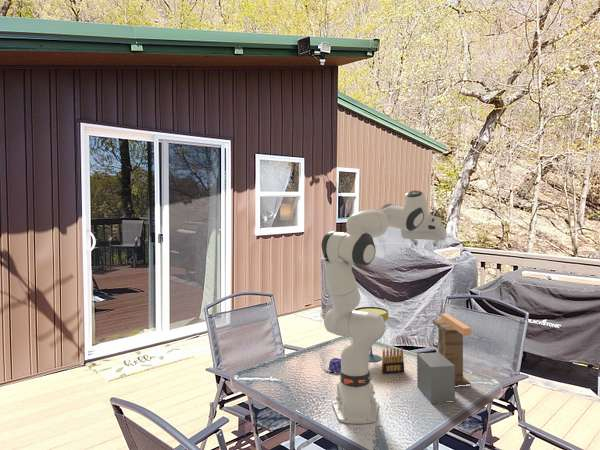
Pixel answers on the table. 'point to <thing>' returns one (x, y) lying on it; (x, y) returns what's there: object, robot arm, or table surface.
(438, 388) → the grey concrete block
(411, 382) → the table surface
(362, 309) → the cocktail glass
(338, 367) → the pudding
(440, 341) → the wooden pedestal stand
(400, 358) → the ammunition clip
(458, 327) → the wooden bar
